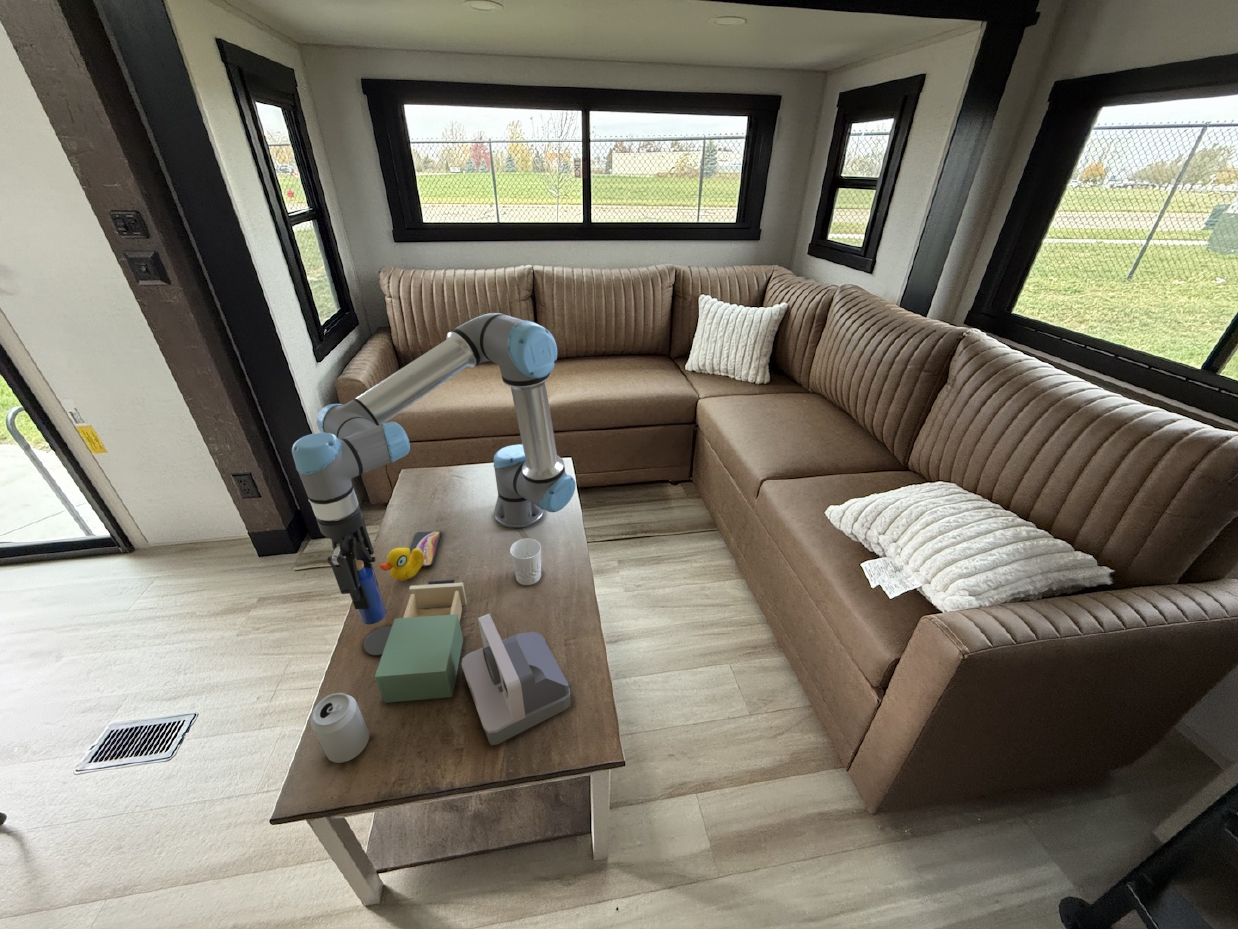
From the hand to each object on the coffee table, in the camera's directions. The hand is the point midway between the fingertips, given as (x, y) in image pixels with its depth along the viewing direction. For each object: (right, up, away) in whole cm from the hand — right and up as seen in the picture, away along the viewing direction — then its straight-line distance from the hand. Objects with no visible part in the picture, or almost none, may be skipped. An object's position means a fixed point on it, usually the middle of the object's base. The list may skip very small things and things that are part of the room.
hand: (367, 596), depth 107 cm
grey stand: (+33, -19, -2) cm, 38 cm away
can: (+3, -25, -12) cm, 28 cm away
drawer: (+11, -9, +12) cm, 19 cm away
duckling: (-2, -1, +26) cm, 26 cm away
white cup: (+30, -2, +26) cm, 40 cm away
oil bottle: (0, -5, +3) cm, 6 cm away
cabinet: (+12, -16, +2) cm, 20 cm away
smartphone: (-1, +4, +34) cm, 34 cm away
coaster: (0, -12, +8) cm, 15 cm away
